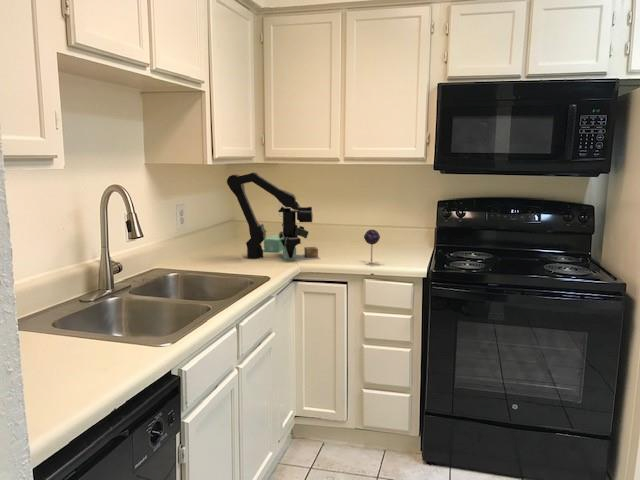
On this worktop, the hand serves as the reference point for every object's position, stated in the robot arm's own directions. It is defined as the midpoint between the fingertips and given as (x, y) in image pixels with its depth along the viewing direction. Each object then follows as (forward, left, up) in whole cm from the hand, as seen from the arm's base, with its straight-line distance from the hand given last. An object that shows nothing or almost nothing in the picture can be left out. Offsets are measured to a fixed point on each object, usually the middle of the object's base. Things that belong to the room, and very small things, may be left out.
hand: (289, 256), depth 239 cm
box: (-2, +20, -2) cm, 21 cm away
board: (+5, 0, -2) cm, 5 cm away
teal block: (0, 0, 0) cm, 0 cm away
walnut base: (+10, 0, 0) cm, 10 cm away
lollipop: (+33, -16, -2) cm, 37 cm away
